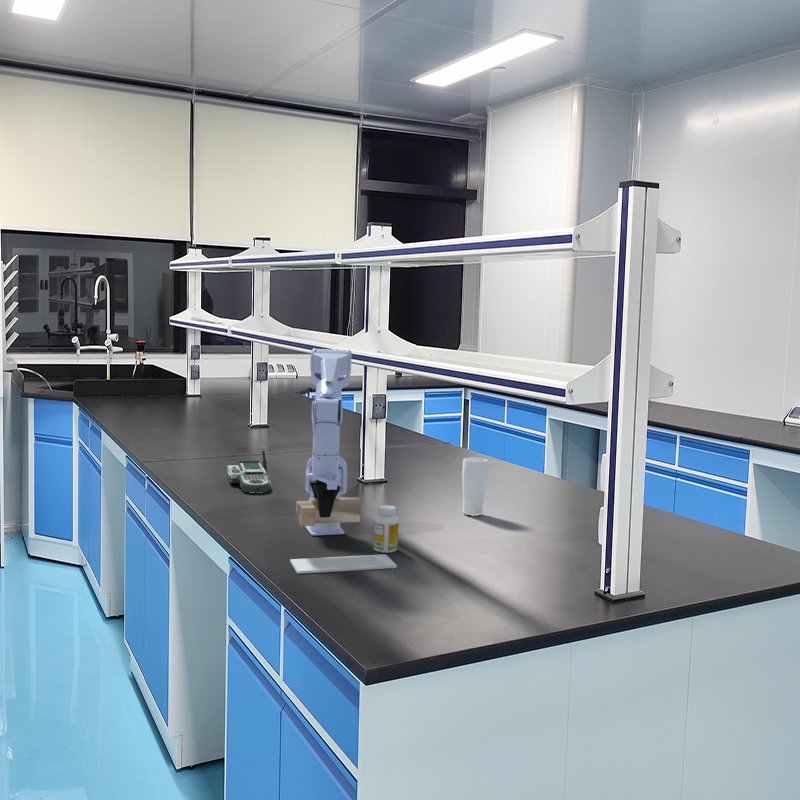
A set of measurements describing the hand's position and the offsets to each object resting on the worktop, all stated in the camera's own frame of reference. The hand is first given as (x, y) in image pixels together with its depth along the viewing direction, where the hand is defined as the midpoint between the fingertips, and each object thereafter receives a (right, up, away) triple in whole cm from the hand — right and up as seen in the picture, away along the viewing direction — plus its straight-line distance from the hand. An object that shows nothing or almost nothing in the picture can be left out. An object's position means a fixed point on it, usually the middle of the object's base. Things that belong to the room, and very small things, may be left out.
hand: (323, 515), depth 176 cm
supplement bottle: (+13, -9, +5) cm, 17 cm away
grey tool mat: (+5, -9, -7) cm, 13 cm away
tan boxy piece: (+1, -1, +1) cm, 2 cm away
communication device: (-28, -1, +65) cm, 71 cm away
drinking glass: (+36, -6, +41) cm, 55 cm away
